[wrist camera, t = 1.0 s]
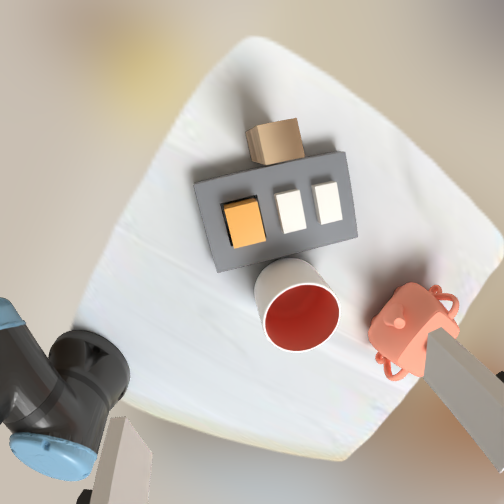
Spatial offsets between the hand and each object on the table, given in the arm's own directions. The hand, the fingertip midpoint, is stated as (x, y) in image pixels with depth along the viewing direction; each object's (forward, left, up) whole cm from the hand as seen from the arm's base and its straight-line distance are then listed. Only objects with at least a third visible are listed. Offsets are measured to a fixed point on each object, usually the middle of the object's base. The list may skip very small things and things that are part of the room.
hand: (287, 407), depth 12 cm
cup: (+5, -12, -34) cm, 37 cm away
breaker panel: (+6, 0, -34) cm, 35 cm away
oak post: (+6, +9, -34) cm, 36 cm away
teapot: (+24, -23, -34) cm, 48 cm away
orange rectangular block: (+1, 0, -32) cm, 32 cm away
